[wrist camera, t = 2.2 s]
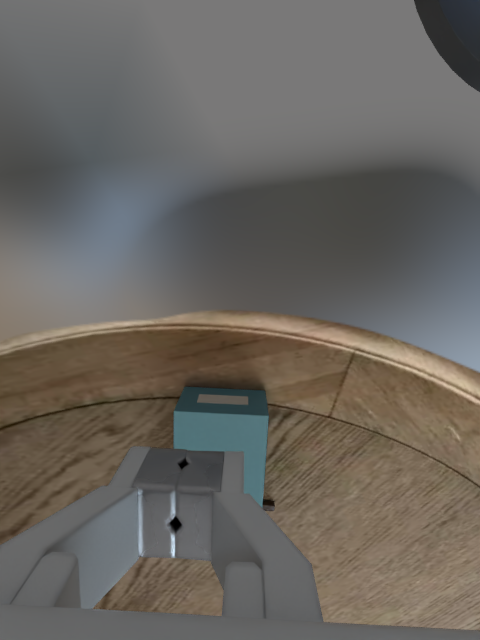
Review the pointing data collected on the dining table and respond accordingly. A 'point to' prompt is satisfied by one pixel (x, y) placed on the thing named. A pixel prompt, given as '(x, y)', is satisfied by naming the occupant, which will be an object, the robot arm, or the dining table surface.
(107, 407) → the dining table surface
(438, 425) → the dining table surface
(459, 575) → the dining table surface
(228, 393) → the teal labeled box
